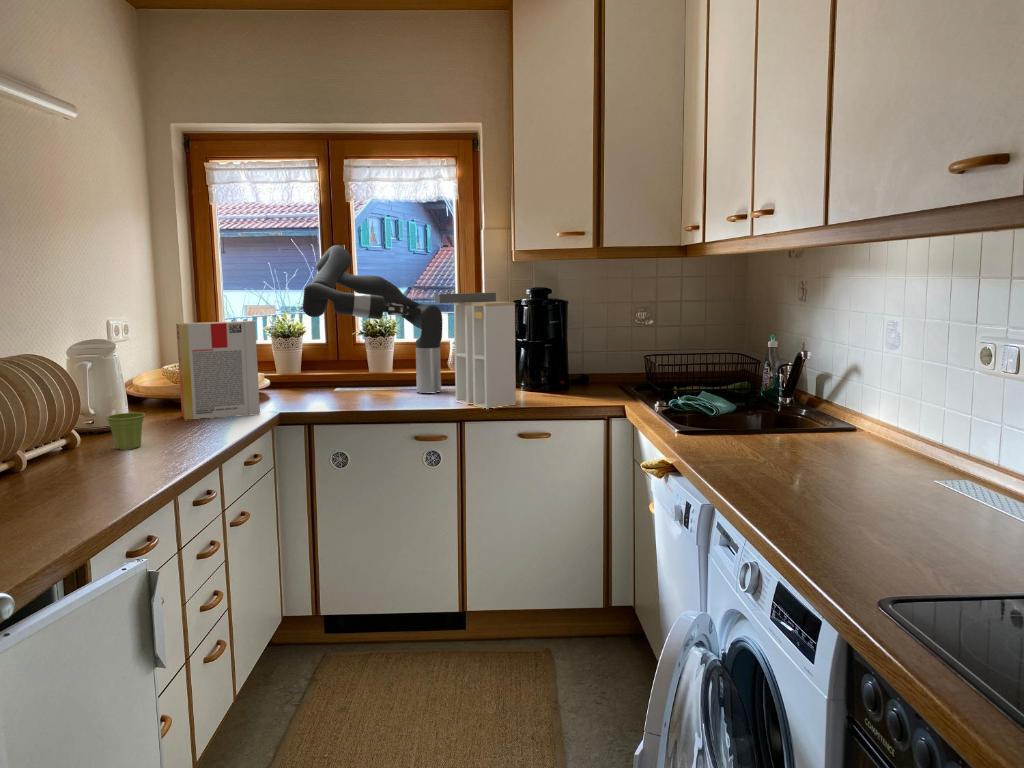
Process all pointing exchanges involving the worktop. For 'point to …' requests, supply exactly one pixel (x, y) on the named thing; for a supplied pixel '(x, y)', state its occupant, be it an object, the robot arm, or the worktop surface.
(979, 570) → the worktop surface
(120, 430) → the plant pot
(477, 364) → the rack
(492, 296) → the slat
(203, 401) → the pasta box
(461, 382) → the rack
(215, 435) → the worktop surface
